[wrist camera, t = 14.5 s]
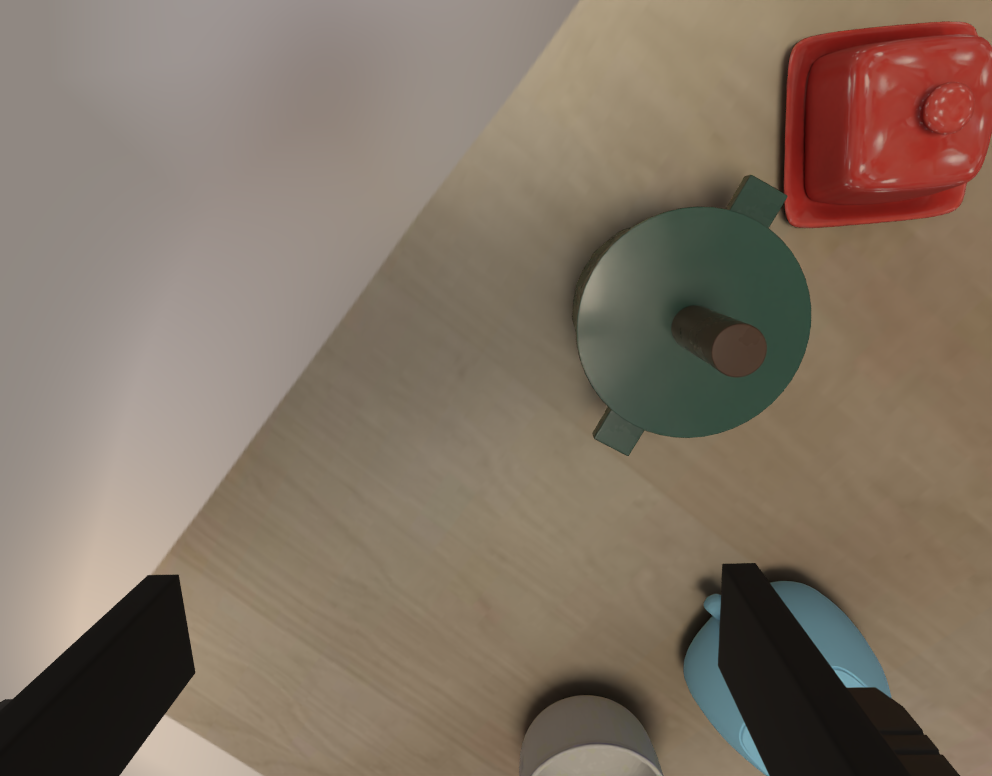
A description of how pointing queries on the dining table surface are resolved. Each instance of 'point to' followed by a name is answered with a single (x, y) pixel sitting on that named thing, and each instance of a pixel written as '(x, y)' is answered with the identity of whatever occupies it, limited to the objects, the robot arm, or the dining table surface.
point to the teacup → (587, 741)
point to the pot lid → (693, 322)
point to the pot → (747, 200)
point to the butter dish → (885, 123)
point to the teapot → (821, 625)
